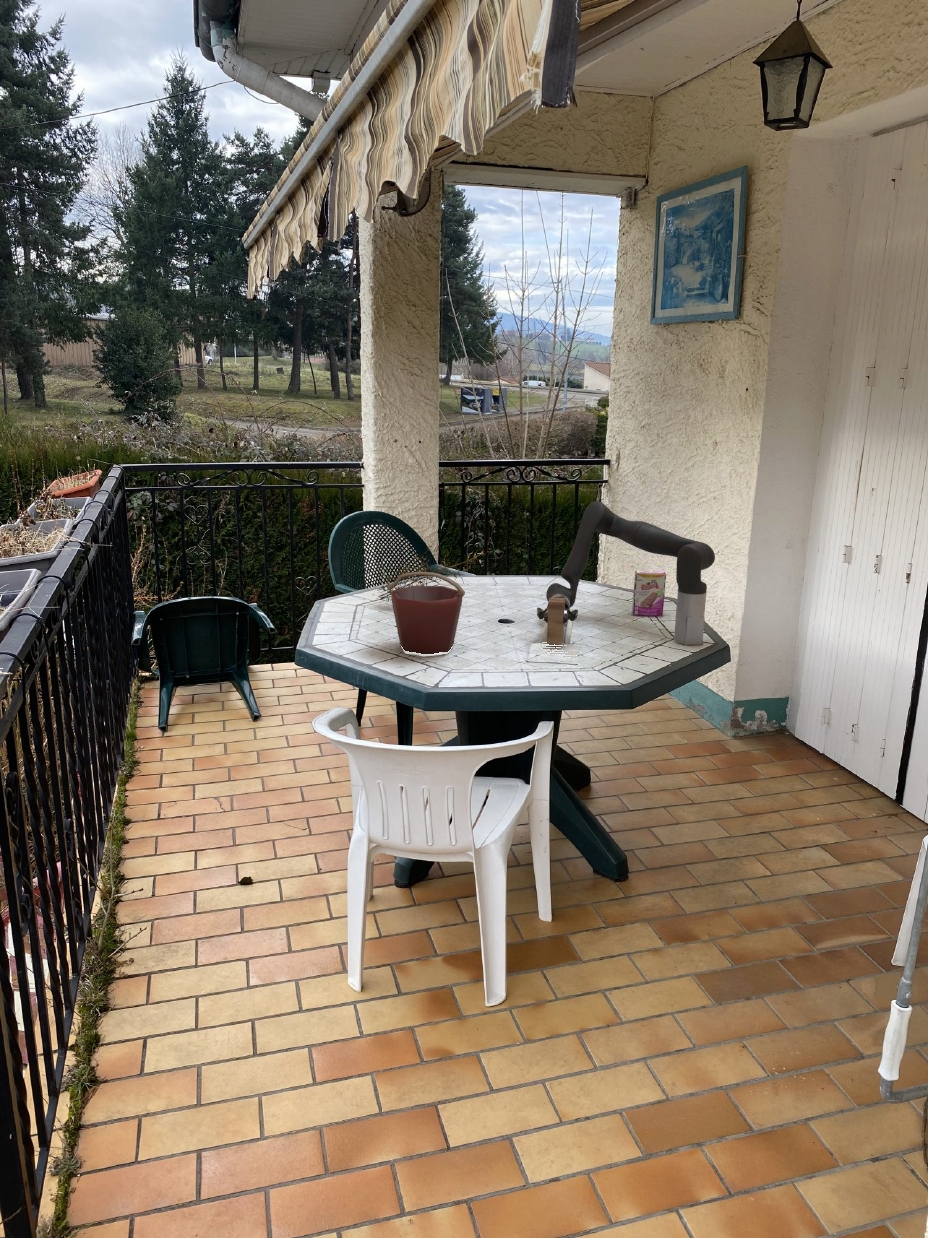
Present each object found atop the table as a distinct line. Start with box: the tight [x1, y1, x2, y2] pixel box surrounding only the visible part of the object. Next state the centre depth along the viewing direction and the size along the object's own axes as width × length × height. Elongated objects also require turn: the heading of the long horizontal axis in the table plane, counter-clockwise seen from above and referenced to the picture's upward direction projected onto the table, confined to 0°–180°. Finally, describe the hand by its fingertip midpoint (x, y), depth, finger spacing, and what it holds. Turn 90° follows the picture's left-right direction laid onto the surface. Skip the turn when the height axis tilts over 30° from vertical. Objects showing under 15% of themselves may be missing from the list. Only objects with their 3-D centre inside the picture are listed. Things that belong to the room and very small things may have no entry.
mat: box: [543, 643, 581, 662], centre depth 285 cm, size 20×16×1 cm
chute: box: [541, 620, 574, 645], centre depth 308 cm, size 26×9×2 cm, turn 171°
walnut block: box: [547, 598, 565, 644], centre depth 290 cm, size 5×5×14 cm
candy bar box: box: [631, 569, 667, 617], centre depth 332 cm, size 11×5×16 cm, turn 84°
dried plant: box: [376, 541, 486, 603], centre depth 333 cm, size 30×31×45 cm
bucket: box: [386, 571, 466, 654], centre depth 285 cm, size 24×22×25 cm
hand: (555, 620), depth 287 cm, fingers closed on walnut block, 5 cm apart
